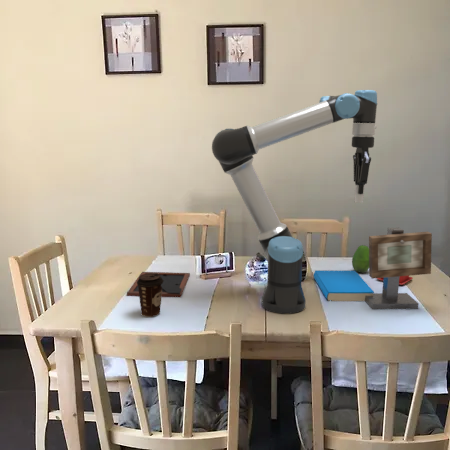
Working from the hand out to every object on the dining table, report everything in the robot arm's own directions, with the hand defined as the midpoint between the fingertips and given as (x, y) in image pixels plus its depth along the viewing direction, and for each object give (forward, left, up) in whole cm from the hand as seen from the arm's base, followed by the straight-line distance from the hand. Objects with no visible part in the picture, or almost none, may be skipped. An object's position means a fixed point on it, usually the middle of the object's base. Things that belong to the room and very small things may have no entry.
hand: (358, 202), depth 171 cm
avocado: (+11, +25, -35) cm, 44 cm away
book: (-3, +4, -35) cm, 35 cm away
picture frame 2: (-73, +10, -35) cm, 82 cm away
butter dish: (+21, +14, -35) cm, 43 cm away
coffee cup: (-73, -18, -35) cm, 83 cm away
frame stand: (+10, -11, -34) cm, 37 cm away
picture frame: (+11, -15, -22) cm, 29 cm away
